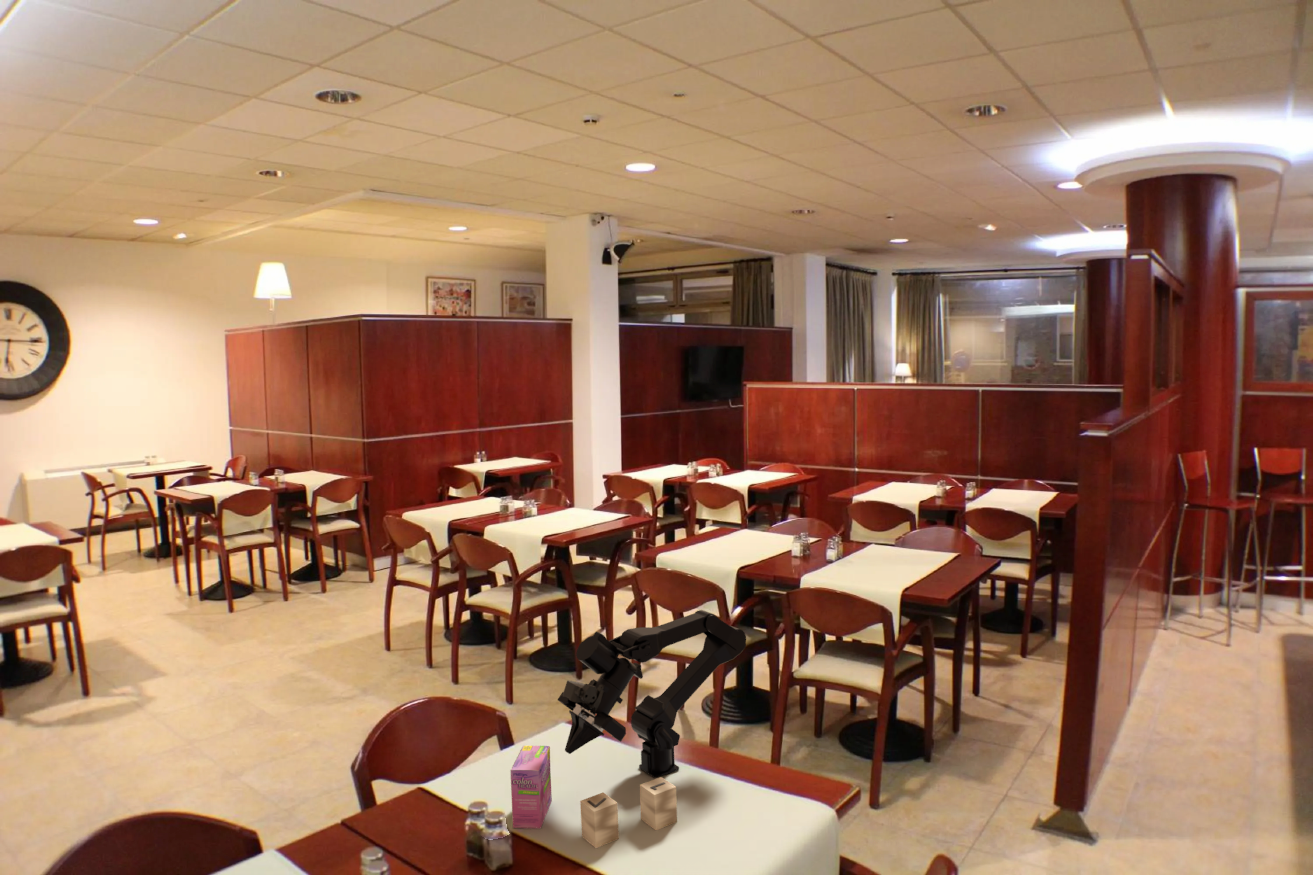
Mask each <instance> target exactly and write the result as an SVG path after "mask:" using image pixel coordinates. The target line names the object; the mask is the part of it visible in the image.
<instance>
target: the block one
mask: <svg viewBox="0 0 1313 875" xmlns="http://www.w3.org/2000/svg"><path fill="white" fill-rule="evenodd" d="M639 798H640V819H641V821H643V823H646V824H647V825H648V826H649V827H651V828H652V829H653V830H655V831H659V830H661V829H663V828H665V827H667V826H670V825H672V824H676V823H678V807H677V803H678V802H677V786H675V785H674V784H673V783H671V782H669V781H668V780H666V779H665V778H663V776H660V777H658V778H654V779H652V780H649V781H646V782H644V783H641V784H639Z"/></svg>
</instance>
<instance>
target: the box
mask: <svg viewBox="0 0 1313 875" xmlns="http://www.w3.org/2000/svg"><path fill="white" fill-rule="evenodd" d="M510 787H511V788H510V790H511V791H510V792H511V812H512V814H511V815H512V816H511V817H512V829H527V830H528V829H530V830H531V829H536V830H538V829H542V826H543V824H544V821H545V818H546V817H547V814H548V811H549V810H550V806H551V804H552V802H553V799H552V797H553V795H552V777H551V747H550V746H549V745H522V747H521V749H520V750H519V752H518V754H517V757H516V759H515V761H514V762H513V765H512V767H511V769H510Z"/></svg>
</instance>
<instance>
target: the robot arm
mask: <svg viewBox="0 0 1313 875" xmlns="http://www.w3.org/2000/svg"><path fill="white" fill-rule="evenodd" d="M701 634H703V635H705V636H706V637H705V639H704V643H703V647H702V650H701V651H700V652H699V653H698V654H697V655H696V657H694V659H693V660H691V662H690V663H689V664H688V665H687V666H686V668H684V670H683V671H682V672H681V673H680V674H679V675H678V676H677V677H676V678H675V679H674V680H673V681H672V683H671V684H670V685H669V686H668V687H667V688H666V689H665V690H664V692H662V694H660V695H659V696H656V697H653V696H651V695H648V694H647V695H646V696H645V697H644V698H643V699H642V701H641V702H640V703H639V704H638V705H636V706H635V707H634V709H635V710H634V711H633V713H632V714H631V717H630V718H631V721H630V726H631V728H632V730H633V731H634V733H636V735H637V737H638V738H639V739H641V740H643V742H641V744H642V745H641V746H642V748H641V749H642V750H641V751H640V758H641V759H640V763H641V764H639V765H638V768H639V769H641V770H642V771H643V772H645V773H647V775H649V776H651V777H652V778H654V779H657V778H659V777H663V776H666V775H669V774H671V773H674V772H677V771H679V770H680V767H679V765H677V764H676V763H675V746H678V745H679V742H680V737H681V735H680V734H679V733H678V732H677V731H675V730H674V728H673V727H674V725H675V722H676V719H677V718H676V717H677V713H678V712H679V710H680V709H681V708H682V707H683V706H684V705H685V704H686V702H687V701H688V700H689V699H690V698H691V697H692V696H693V695H694V693H695V692H696V691H697V690H698V689H699V688H700V687H701V686H702V684H704V683H705V681H706V680H707V679H708V678H709V677H710V676H711V675H712V674H713V673H714V671H716V669H718V667H719V666H720V665H723V664H725V663H727V662H728V663H729V661H732V660H734V659H735V658H737V656H739V655H740V654H741V653H742V652H743V651H744V650H745V649H746V646H747V635H746V633H745V631H744V630H742V629H740V628H737V627H735V626H732V625H729V624H728V623H726V622H725V621H723V620H721V619H720V618H719V617H717V616H716V615H715V613H711V612H708V611H705V610H702V609H701V610H696V611H695V612H694V613H692V614H689V615H685V616H683V617H680V618H677V619H675V620H671V621H669V622H666V623H663V624H661V625H660V624H659V625H658V626H652V627H650V626H649V627H645V626H644V627H643V626H641V627H633V628H627V629H626V630H623V632H621V635H619V636H616V637H614V638H612V639H609V640H608V639H607V638H606V636H605V635H604V634H603V633H601V632H599V631H595V632H594V634H593V635H591V636H588V637H587V638H585V639H584V640H583V641H581V642H580V643H579V645H578V646H577V649H576V653H575V654H576V655H575V656H576V658H577V659H578V661H580V662H581V663H582V664H583V665H585V666H586V667H587V668H588V669H590V670H591V671H592V672H594V673H595V674H597V675H600V676H599V677H598V679H597V680H596V679H594V678H593V679H592V680H590V681H589V682H588V683H583V682H579V681H573V680H569V679H567V680H566V683H565V687H564V690H563V691H562V693H560V695H559V697H558V698H557V701H558V702H560V704H562V705H563V706H565V707H567V708H568V709H569V711H568V712H569V714H570V718H571V727H570V731H569V734H568V737H567V740H566V744H565V748H564V752H566V753H568V755H571V754H572V753H574V752H575V751H578V749H580V748H581V747H583V746H586V744H588V743H590V742H592V741H594V740H595V739H597V738H599V737H600V736H601V737H603V736H604V735H605V733H604V731H605V732H607V733H608V734H609V735H611V737H612V738H614V739H615V740H617V741H619V742H620V743H621V742H622V741H623V740H624V738H625V736H626V734H627V730H626V729H627V728H626V726H624V725H623V724H622V723H621V722H619V721H617V720H616V719H615V718H614V717H612V716H611V715H610V714H611V711H612V710H613V708H614V706H615V705H616V704H617V703H618V704H619V705H620V704H621V703H622V702H623V701H624V699H623V698H621V696H622V695H623V692H624V691H625V689H626V688H627V686H628V685H629V683H630V682H631V680H632V678H633V677H636V678H638V679H641V680H642V679H643V677H644V675H643V672H642V665H641V664H639V663H642V664H643V663H646V662H648V661H650V660H652V659H654V658H656V657H657V656H659V654H660V653H661V651H662V650H663V649H665V648H666V647H669V646H671V645H674V644H677V643H679V642H682V641H685V640H688V639H690V638H693V637H695V636H699V635H701ZM619 656H621V657H620V658H619ZM630 660H634V661H636V662H634V663H632V662H631V661H630ZM637 662H638V663H637Z"/></svg>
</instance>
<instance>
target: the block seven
mask: <svg viewBox="0 0 1313 875" xmlns="http://www.w3.org/2000/svg"><path fill="white" fill-rule="evenodd" d="M579 804H580V822H581V824H580V825H581V837H582V838H583V839H584V840H585V841H587V842H588V843H589V844H590V845H592V846H593V847H594V848H595V849H597V848H600V847H603V846H604V845H607V844H610V843H612V842H615V841H617V840H620V833H619V810H618V802H617V801H616V800H614V799H613V798H611V797H610V796H609V795H608V794H606V793H605V792H601V793H598V794H595V795H592V796H590V797H586V798H584V799H581V800H580V803H579Z"/></svg>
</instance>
